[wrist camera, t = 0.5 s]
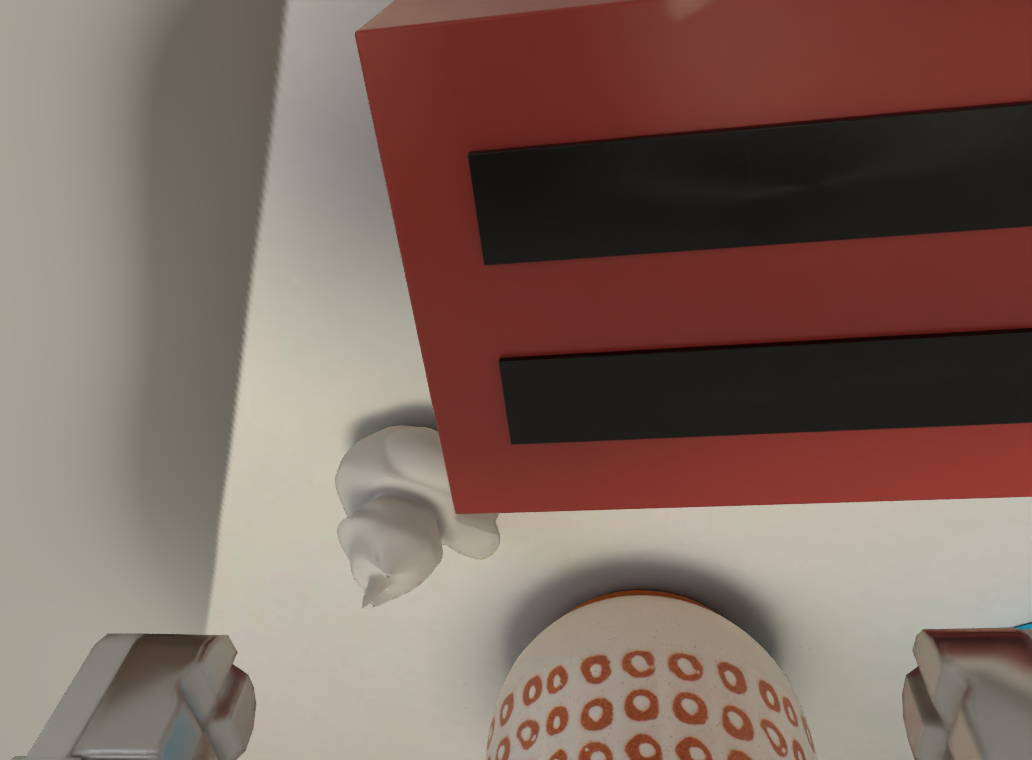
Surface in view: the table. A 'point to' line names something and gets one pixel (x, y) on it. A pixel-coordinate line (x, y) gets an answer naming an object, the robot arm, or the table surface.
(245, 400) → the table surface
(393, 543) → the rubber duck
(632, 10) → the toaster
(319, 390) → the table surface
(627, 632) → the vase
